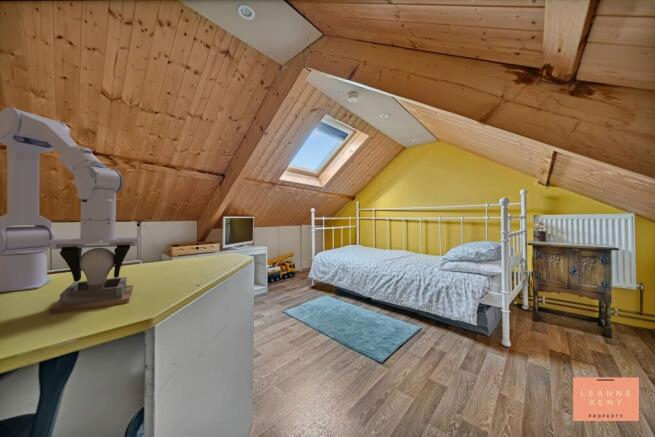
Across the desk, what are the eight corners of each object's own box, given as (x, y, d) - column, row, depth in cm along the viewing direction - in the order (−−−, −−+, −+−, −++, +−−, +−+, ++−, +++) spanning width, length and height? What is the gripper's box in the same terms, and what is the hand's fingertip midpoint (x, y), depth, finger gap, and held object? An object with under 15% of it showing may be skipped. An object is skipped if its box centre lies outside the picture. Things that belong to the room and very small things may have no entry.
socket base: (66, 296, 55) (66, 282, 55) (132, 288, 62) (133, 275, 62) (49, 314, 46) (49, 296, 46) (128, 302, 53) (129, 287, 53)
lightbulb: (92, 301, 50) (95, 250, 50) (68, 298, 51) (71, 248, 51) (120, 292, 56) (123, 247, 56) (99, 289, 57) (102, 245, 57)
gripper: (43, 220, 46) (42, 288, 46) (138, 221, 54) (136, 278, 55) (56, 218, 52) (55, 279, 52) (139, 219, 60) (138, 271, 60)
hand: (97, 278), depth 54 cm, fingers closed on lightbulb, 6 cm apart
